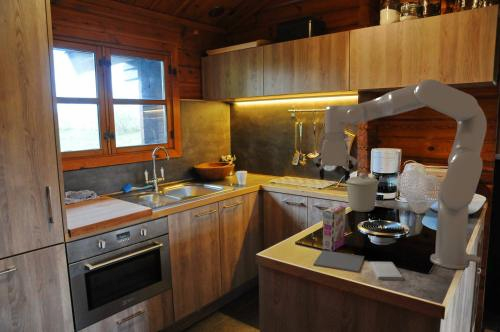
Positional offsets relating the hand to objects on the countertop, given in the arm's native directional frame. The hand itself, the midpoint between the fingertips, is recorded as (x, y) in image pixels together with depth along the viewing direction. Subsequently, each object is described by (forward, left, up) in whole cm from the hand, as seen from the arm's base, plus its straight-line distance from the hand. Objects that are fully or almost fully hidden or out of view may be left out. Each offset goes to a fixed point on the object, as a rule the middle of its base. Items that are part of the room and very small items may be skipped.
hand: (334, 179), depth 147 cm
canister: (-2, -62, -28) cm, 68 cm away
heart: (-31, -64, -28) cm, 77 cm away
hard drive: (-22, +17, -29) cm, 40 cm away
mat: (-5, +14, -28) cm, 32 cm away
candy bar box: (0, 0, -28) cm, 28 cm away
